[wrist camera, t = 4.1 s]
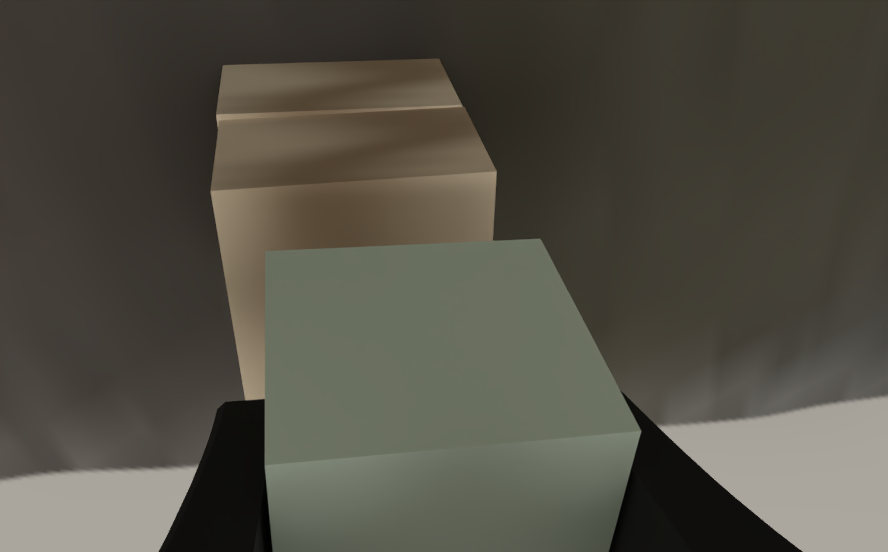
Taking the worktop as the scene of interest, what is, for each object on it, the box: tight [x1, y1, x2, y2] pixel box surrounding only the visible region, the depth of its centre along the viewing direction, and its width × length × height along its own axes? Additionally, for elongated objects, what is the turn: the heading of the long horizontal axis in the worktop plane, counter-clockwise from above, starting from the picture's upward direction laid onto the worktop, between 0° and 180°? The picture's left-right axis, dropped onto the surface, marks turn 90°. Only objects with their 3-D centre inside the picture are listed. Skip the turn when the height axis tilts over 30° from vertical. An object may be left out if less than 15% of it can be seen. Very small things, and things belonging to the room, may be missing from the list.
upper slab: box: [211, 107, 497, 400], centre depth 17 cm, size 5×5×3 cm
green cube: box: [265, 239, 641, 552], centre depth 11 cm, size 4×4×4 cm
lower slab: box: [216, 59, 462, 128], centre depth 19 cm, size 5×5×3 cm
